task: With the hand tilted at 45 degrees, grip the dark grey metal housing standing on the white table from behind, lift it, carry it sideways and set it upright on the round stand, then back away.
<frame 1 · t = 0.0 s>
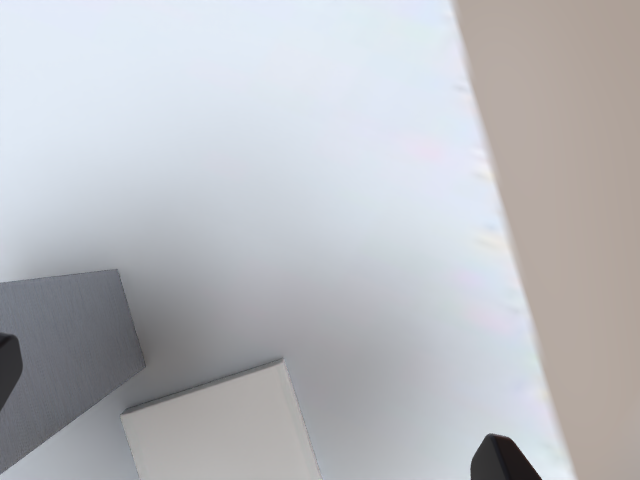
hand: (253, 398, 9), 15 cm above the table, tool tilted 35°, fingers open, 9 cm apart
housing: (82, 332, 24), on the table
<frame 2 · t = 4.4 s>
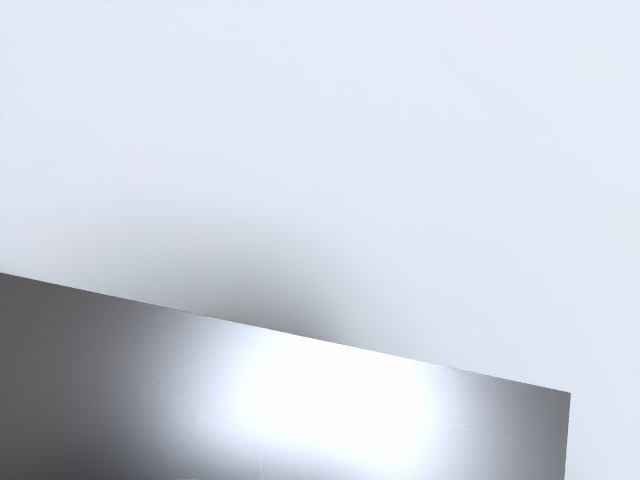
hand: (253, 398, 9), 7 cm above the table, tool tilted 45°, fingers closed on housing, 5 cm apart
housing: (254, 425, 15), on the table, touching gripper
when the fingers open (11 cm above the table, at t = 7.9 s): housing drops 1 cm, resting on stand.
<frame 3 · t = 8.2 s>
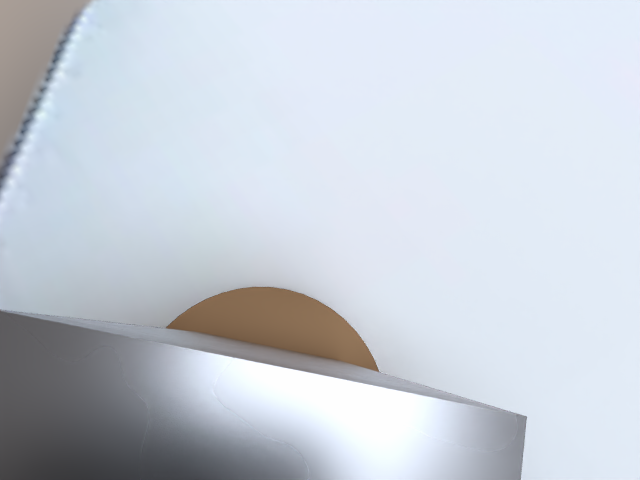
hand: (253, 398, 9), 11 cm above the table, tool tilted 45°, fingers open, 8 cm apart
stand: (262, 407, 20), on the table
housing: (255, 420, 17), point 3 cm above the table, touching stand
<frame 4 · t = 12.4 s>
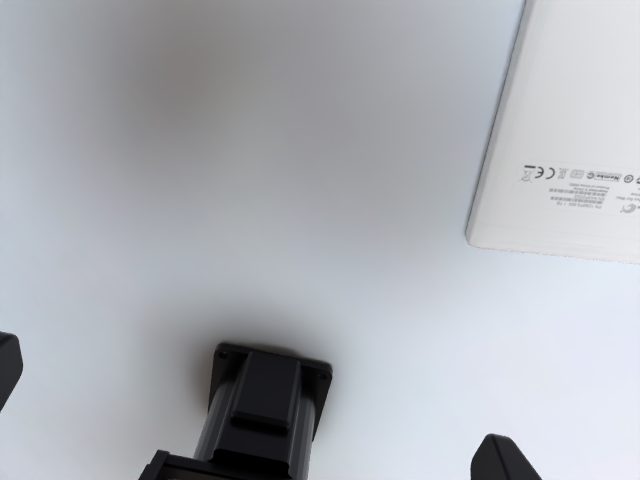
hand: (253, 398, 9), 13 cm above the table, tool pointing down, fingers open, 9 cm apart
external hard drive: (601, 101, 19), on the table
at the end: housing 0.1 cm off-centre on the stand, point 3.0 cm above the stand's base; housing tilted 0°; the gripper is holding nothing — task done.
